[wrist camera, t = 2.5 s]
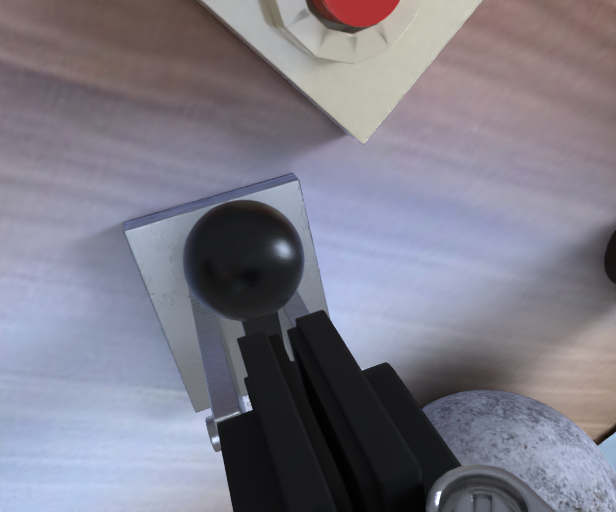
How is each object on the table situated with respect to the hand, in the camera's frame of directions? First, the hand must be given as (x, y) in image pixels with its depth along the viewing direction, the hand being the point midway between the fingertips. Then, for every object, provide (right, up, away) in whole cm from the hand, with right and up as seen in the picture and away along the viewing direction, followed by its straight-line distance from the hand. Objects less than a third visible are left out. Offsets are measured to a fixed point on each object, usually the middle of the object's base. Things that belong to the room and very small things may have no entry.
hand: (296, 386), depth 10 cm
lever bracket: (-4, 0, +21) cm, 21 cm away
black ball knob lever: (-2, 0, +9) cm, 9 cm away
